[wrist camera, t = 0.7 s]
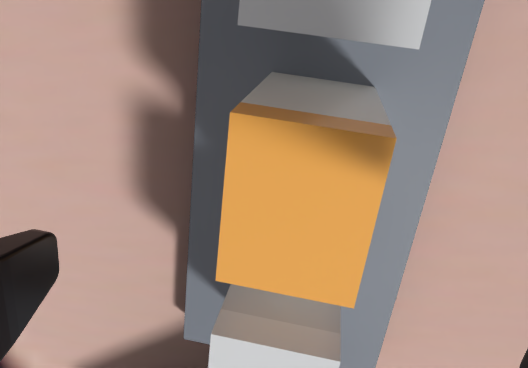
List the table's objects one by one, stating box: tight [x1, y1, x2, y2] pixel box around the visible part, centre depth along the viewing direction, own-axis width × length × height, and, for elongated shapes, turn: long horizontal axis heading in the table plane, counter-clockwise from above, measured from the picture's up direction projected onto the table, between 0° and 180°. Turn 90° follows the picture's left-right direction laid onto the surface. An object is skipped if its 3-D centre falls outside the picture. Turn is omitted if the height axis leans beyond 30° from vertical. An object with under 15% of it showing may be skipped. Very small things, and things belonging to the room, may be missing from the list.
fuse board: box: [184, 0, 485, 368], centre depth 18 cm, size 10×24×2 cm, turn 173°
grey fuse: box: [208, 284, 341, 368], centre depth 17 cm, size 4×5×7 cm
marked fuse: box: [216, 72, 397, 309], centre depth 14 cm, size 4×5×7 cm
